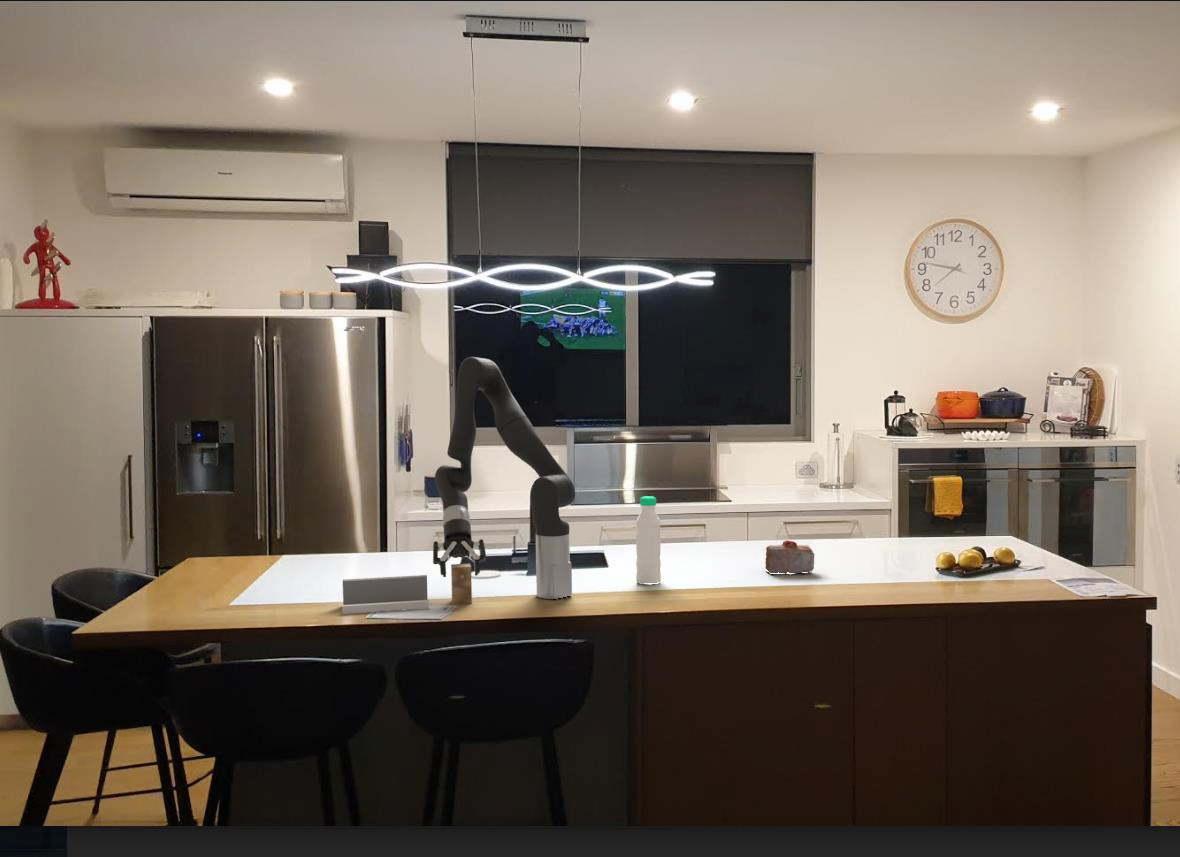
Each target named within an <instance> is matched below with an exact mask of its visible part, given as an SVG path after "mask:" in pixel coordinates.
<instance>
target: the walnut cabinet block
mask: <svg viewBox="0 0 1180 857" xmlns="http://www.w3.org/2000/svg"><path fill="white" fill-rule="evenodd" d="M450 565H451V567H450V569H451V570H450V571H451V572H450V573H451V602H452V605H468V604H472V602H473V595H472V594H473V592H472V565H471V563H454V564H450Z"/></svg>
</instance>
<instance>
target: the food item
mask: <svg viewBox="0 0 1180 857" xmlns="http://www.w3.org/2000/svg"><path fill="white" fill-rule="evenodd" d="M765 549H766V550H765V551H766V552H765V556H766V557H765V567H764V569H765V568H766V569H767V570H768V571H769V572H770V573H778V572H779V573H787V572H789V573H802V572H809V573H810V572H812V571H813V570H814V569H815V556H816V554H815V553H814V551H813V549H812V548H811V547H810V546H809V545H808V544H799V545H798V543H797V542H796V541H793V540H792V541H791V540H784V541H783V542H782V544H769V545H768V546H766V548H765Z"/></svg>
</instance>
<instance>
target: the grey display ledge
mask: <svg viewBox="0 0 1180 857" xmlns="http://www.w3.org/2000/svg"><path fill="white" fill-rule="evenodd" d="M428 598H429V597H428V575H427V574H421V575H420V574H419V575H404V576H403V575H399V576H386V577H385V576H383V577H367V578H365V577H363V578H349V579H348V578H347V579H342V601H343V602H342V605H341V609H342V611H341V612H342V613H341V614H342V615H350V614H367V613H380V612H379V611H385V612H389V611H388V610H401V611H407V610H406V609H409V610H408V611H411V610H410V609H417V610H429V609H430V605H429V604H430V602H429V601H430V600H429V599H428ZM403 609H405V610H403Z"/></svg>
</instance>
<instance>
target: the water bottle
mask: <svg viewBox="0 0 1180 857" xmlns="http://www.w3.org/2000/svg"><path fill="white" fill-rule="evenodd" d="M639 505H640V508H641V509H640V511H639V513H638V516H637V519H635V520H636V521H635V525H636V534H635V536H636V537H635V539H636V540H635V543H636V544H635V547H636V548H635V551H636V561H635V562H636V565H635V566H636V574H635V576H636V577H635V579H636V580H635V581H636V583H638V582H640V583H657V582H660V583H661V581H662V576H661V575H662V573H661V565H662V564H661V563H662V562H661V558H660V557H661V545H662V544H661V540H662V539H661V524H662V523H661V519H660V517H659V515H658V512H657V511H656V507H657V498H656V497H655V496H652V495H651V496H647V495H646V496H645V495H644V496H642V497H639Z"/></svg>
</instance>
